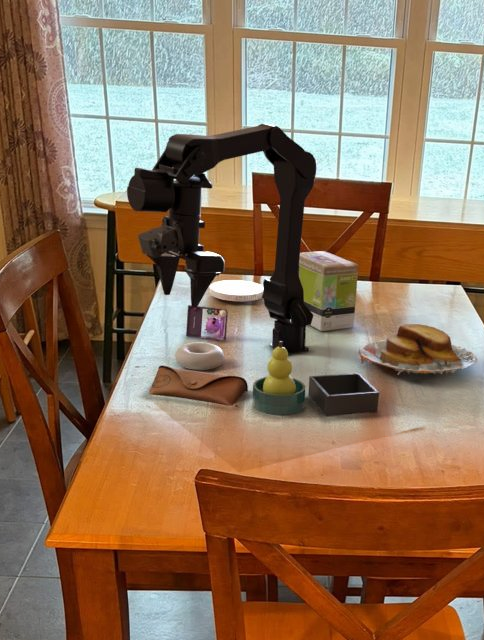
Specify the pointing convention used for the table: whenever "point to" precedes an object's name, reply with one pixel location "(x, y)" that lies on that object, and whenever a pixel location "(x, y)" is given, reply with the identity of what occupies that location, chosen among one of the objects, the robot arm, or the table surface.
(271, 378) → the pear
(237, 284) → the plastic lid
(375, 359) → the food on plate
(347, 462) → the table surface
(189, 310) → the purple toy box
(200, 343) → the donut
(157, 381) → the sunglasses case
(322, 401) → the bin
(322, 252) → the tea box
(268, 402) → the bowl
